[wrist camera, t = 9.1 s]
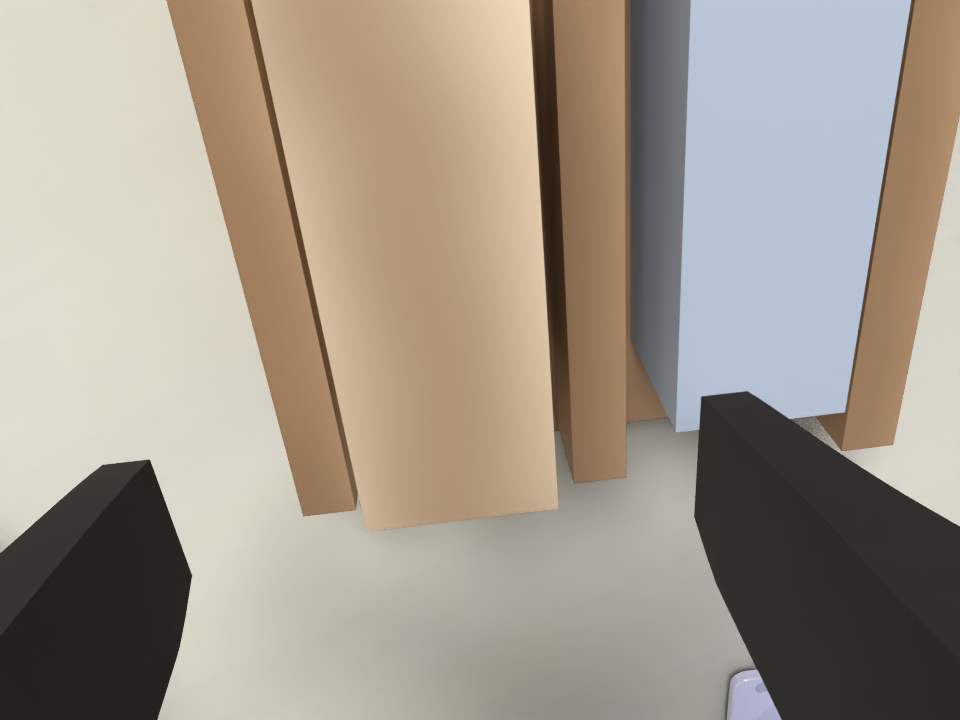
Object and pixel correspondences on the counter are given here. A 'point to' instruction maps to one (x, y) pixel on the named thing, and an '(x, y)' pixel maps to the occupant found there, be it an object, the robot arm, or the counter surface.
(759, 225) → the blue slat
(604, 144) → the rack
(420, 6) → the wooden block
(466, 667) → the counter surface
